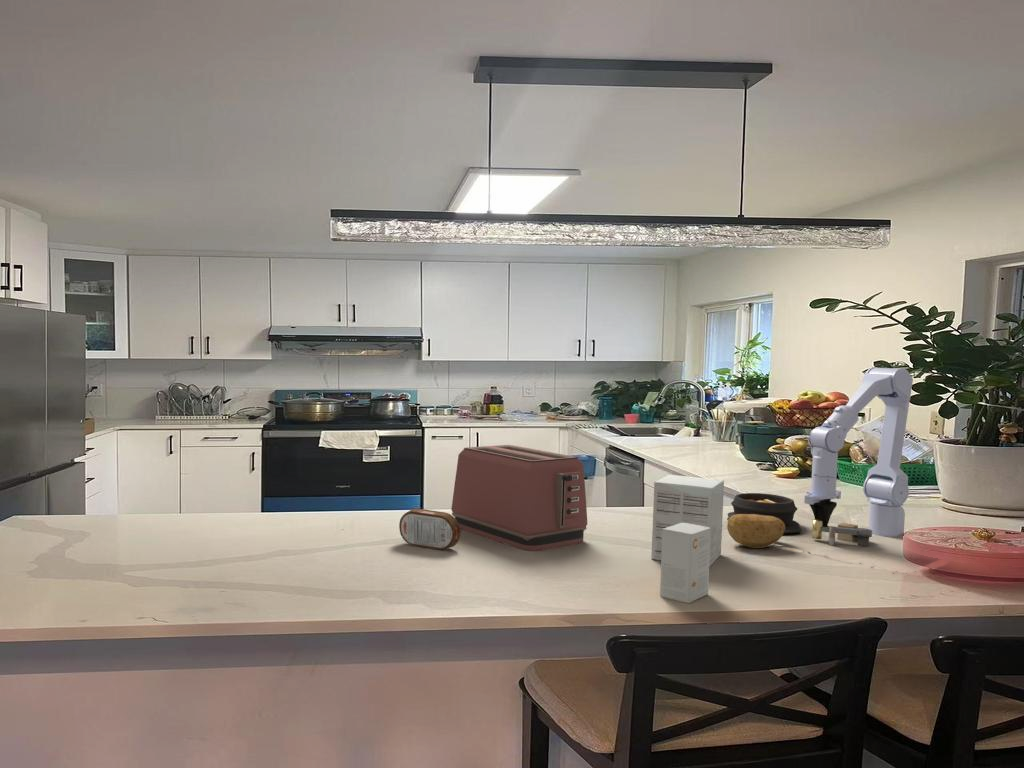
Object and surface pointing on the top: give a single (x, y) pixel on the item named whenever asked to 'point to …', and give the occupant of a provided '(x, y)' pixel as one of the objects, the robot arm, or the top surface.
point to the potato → (755, 529)
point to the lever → (838, 530)
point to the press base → (861, 540)
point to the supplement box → (688, 508)
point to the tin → (429, 529)
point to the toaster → (520, 496)
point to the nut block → (847, 536)
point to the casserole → (767, 508)
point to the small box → (685, 562)
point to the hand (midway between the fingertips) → (821, 530)
